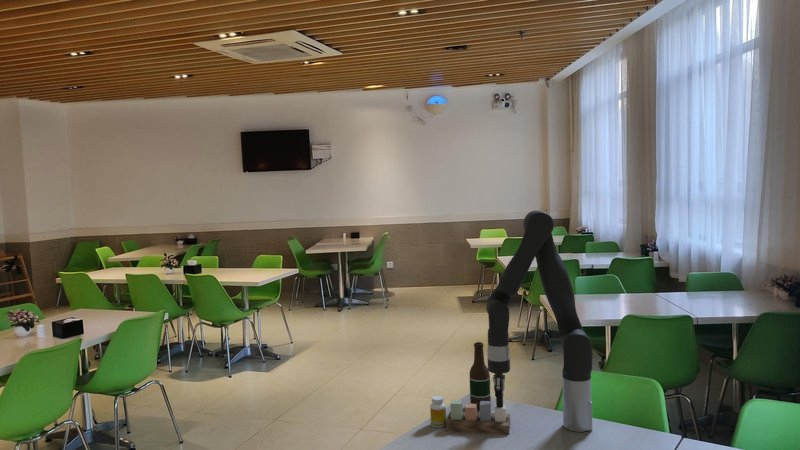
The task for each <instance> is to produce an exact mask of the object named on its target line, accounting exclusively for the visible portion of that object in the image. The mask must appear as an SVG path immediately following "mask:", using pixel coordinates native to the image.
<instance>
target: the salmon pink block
mask: <svg viewBox="0 0 800 450" xmlns="http://www.w3.org/2000/svg"><path fill="white" fill-rule="evenodd" d="M464 412H465V420H469V421H477V413H478V409H477V404H471V403H466V404H465V407H464Z"/></svg>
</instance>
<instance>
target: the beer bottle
mask: <svg viewBox="0 0 800 450" xmlns="http://www.w3.org/2000/svg"><path fill="white" fill-rule="evenodd" d="M473 347H474V348H473V349H474V350H473V351H474V352H473V353H474V354H473V355H474V356H473V364H472V366H471V367H470V369H469V400H470V404H477V410H480V401H491V398H492V397H491V375H490V373H491V372H489V371H488V366H487V365H486V364H485V356H484V343H483V342H481V341H477V342H474V343H473ZM491 402H492V401H491Z"/></svg>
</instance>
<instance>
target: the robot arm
mask: <svg viewBox="0 0 800 450" xmlns="http://www.w3.org/2000/svg"><path fill="white" fill-rule="evenodd" d="M522 227H523V230H524V234H523V237H522V239H521V242H520V244H519V246H518V248H517V250H516V252H515V253H514V254H513V256H512V258H511V259H510V260H509V262H508V264H507V265H506V267H505V269H504V271H503V273H502V275H501V277H500V280H499V281H498V284H497V286H496V287H495V289H494V290H493V292H492V293H491V295H490V296H489V298H488V301H487V303H486V305H485V307H486V312H487V313H486V314H488V329H487V350H486V352H487V353H486V354H487V368H488V371H489V373H491V374H493V377H492V383H493V390H494V397H496V398H495V403H496V404H495V405H496V407H499V408H502V407H503V405H504V391H505V387H506V385H505V382H506V375H505V374H507V373H509V372H510V370H511V354H510V353H511V351H510V338H509V336H510V334H509V327H510V325H509V324H510V307H509V305H510V303H511V301H512V299H513V298H514V297H515V296H517V294H518V292H520V288H521V286H522V285H523V282H524V281H525V279H526V276H527V275H528V272H529V270H530V268H531V265H532V264H533V262H534V260H535V261H536V266H537V269H538V275H539V278H540V281H541V285H542V288H543V292H544V295H545V297H546V299H547V302H548V304H549V306H550V309H551V311H552V313H553V315H554V318H555V321H556V324H557V329H558V335H559V341H560V345H561V348H562V350H563V367H562V370H561V371H562V372H561V373H562V415H563V416H562V420H563V421H562V422H563V423H562V425H563V428H564V429H566V430H569V431H571V432H577V433H581V432H583V433H584V432H588V431H589V432H590V431H593V402H592V375H591V374H592V371H593V345H592V341H591V339H590V337H589V336H588V334H587V333H586V332H585V330H584V328H583V326H582V323H581V321H580V318H579V315H578V312H577V308H576V299H575V298H576V297H575V293H574V292H575V291H574V288H573V285H572V284H573V283H572V282H571V278H570V275H569V272H568V269H567V268H566V265H565V263H564V262H563V259H562V257H561V256H560V253H559V252H558V249H557V247H556V244H555V241H554V238H553V234H552V233H553V230H554V228H555V221H554V219H553V217H552V215H550V214H549V213H547V212H545V211H542V210H536V209H535V210H531V211H530V212H528V213H527V214H526V215H525V216H524V219H523V226H522Z"/></svg>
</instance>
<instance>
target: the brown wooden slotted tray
mask: <svg viewBox="0 0 800 450" xmlns="http://www.w3.org/2000/svg"><path fill="white" fill-rule="evenodd" d="M462 412H463V417H462V420H451V410H450V412H449V414H448V417H447V418H446V425H445V426H446V432H450V433H451V432H453V433H454V432H456V433H470V434H471V433H472V434H473V433H474V434H490V435H491V434H493V435H510V430H511V413H506V422H495V412H493V413H492V412H491V417H492V418H491V421H480V412H477V421H469V420H465V411H462Z"/></svg>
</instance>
